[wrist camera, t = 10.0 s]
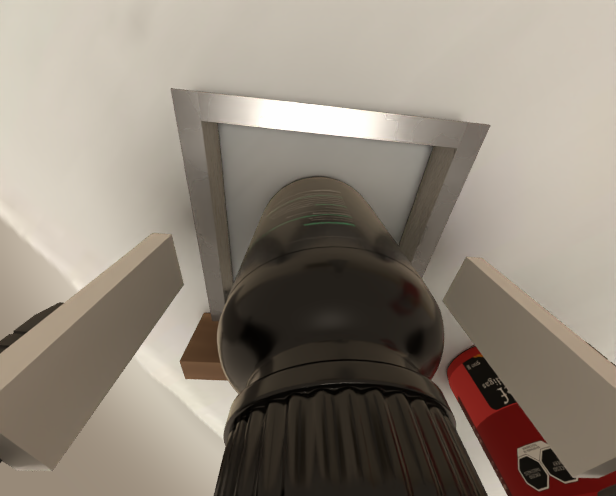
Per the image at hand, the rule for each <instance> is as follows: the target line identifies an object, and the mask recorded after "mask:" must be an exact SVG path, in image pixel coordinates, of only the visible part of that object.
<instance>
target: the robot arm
mask: <svg viewBox="0 0 616 496" xmlns="http://www.w3.org/2000/svg"><path fill="white" fill-rule="evenodd" d="M183 285H184V284H183V280H182V275H181V271H180V267H179V263H178V259H177V255H176V251H175V247H174V242H173V238H172V234H159V233H152V234H151V235H150V236H148V237H147V238H146V239H145V240H143V241H142V242H141V243H140V244H138V245H137V246H136V247H135V248H133V249H132V250H131V251H129V252H128V253H127V254H126V255H124V256H123V257H122V258H121V259H119V260H118V261H117V262H116V263H114V264H113V265H112V266H110V267H109V268H108V269H107V270H105V271H104V272H103V273H102V274H100V275H99V276H98V277H97V278H95V279H94V280H93V281H92V282H90V283H89V284H88V285H86V286H85V287H84V288H83V289H81V290H80V291H79V292H78V293H76V294H75V295H74V296H73V297H71V298H70V299H69V300H67V301H66V302H65V303H57V304H56V305H54V306H52V307H50V308H48V309H46V310H44V311H42V312H40V313H38V314H36V315H34V316H33V317H32V318H30V319H29V320H28V321H26V322H25V323H24V324H22V325H21V326H20V327H18V328H17V329H16V330H14V333H13V334H9V335H8V336H6V337H5V338H4V339H2V340H1V341H0V463H1V461H3V462H5V463H6V464H8V465H9V466H11V467H13V468H14V469H16V470H24V471H27V470H28V471H53V470H54V468H55V467H56V465H57V464H58V462H59V461H60V460H61V458H62V457H63V455H64V454H65V453H66V451H67V450H68V448H69V447H70V445H71V444H72V443H73V441H74V440H75V438H76V437H77V436H78V434H79V433H80V431H81V430H82V428H83V427H84V426H85V424H86V423H87V421H88V420H89V419H90V417H91V415H92V414H93V413H94V411H95V410H96V409H97V407H98V406H99V404H100V403H101V401H102V400H103V399H104V397H105V396H106V394H107V393H108V391H109V390H110V389H111V387H112V386H113V384H114V383H115V382H116V380H117V379H118V377H119V376H120V374H121V373H122V372H123V370H124V369H125V367H126V366H127V364H128V363H129V362H130V360H131V359H132V357H133V356H134V355H135V353H136V352H137V350H138V349H139V347H140V346H141V345H142V343H143V342H144V340H145V339H146V338H147V336H148V335H149V333H150V332H151V330H152V329H153V328H154V326H155V325H156V323H157V322H158V321H159V319H160V318H161V316H162V315H163V313H164V312H165V311H166V309H167V308H168V306H169V305H170V303H171V302H172V301H173V299H174V298H175V296H176V295H177V294H178V292H179V291H180V289H181V288H182V286H183ZM443 302H444V304H445V305H446V307H447V308H448V309H449V311H450V312H451V313H452V315H453V316H454V317H455V319H456V320H457V321H458V323H459V324H460V326H461V327H462V328H463V330H464V331H465V332H466V334H467V335H468V336H469V338H470V339H471V340H472V342H473V343H474V345H475V346H476V347H477V349H478V350H479V351H480V353H481V354H482V355H483V357H484V358H485V359H486V361H487V362H488V364H489V365H490V366H491V368H492V369H493V370H494V372H495V373H496V374H497V376H498V377H499V378H500V380H501V381H502V383H503V384H504V385H505V387H506V388H507V389H508V391H509V392H510V393H511V395H512V396H513V397H514V399H515V400H516V402H517V403H518V404H519V406H520V407H521V408H522V410H523V411H524V412H525V414H526V415H527V416H528V418H529V419H530V421H531V422H532V423H533V425H534V426H535V427H536V429H537V430H538V431H539V433H540V434H541V435H542V437H543V438H544V440H545V441H546V442H547V444H548V445H549V446H550V448H551V449H552V450H553V452H554V453H555V454H556V456H557V457H558V459H559V460H560V461H561V463H562V464H563V465H564V467H565V468H566V469H567V471H568V472H569V473H570V475H571V476H572V478H600V477H602V476H605V475H607V474H609V473H611V472H614V471H616V365H615V364H613V363H612V362H609V361H608V360H607V358H606V357H605V356H603V355H602V354H601V353H600V352H598V351H597V350H596V349H595V348H594V347H592V346H591V345H590V344H589V343H587V342H585V341H584V340H582V339H581V338H580V337H579V336H577V335H576V334H575V333H574V332H573V331H571V330H570V329H569V328H568V327H566V326H565V325H564V324H563V323H561V322H560V321H559V320H558V319H557V318H555V317H554V316H553V315H552V314H550V313H549V312H548V311H547V310H546V309H544V308H543V307H542V306H541V305H539V304H538V303H537V302H536V301H534V300H533V299H532V298H531V297H530V296H528V295H527V294H526V293H525V292H523V291H522V290H521V289H520V288H518V287H517V286H516V285H515V284H514V283H512V282H511V281H510V280H509V279H507V278H506V277H505V276H504V275H502V274H501V273H500V272H499V271H498V270H496V269H495V268H494V267H493V266H491V265H490V264H489V263H488V262H486V261H485V260H484V259H483V258H475V257H466V259H465V260H464V262H463V264H462V266H461V268H460V270H459V271H458V273H457V275H456V277H455V279H454V281H453V282H452V284H451V286H450V288H449V290H448V292H447V293H446V295H445V297H444V299H443ZM597 496H616V484H614V485H612V486H609V487H607V488H604V489H602V490H600V491H599V492H598V493H597Z"/></svg>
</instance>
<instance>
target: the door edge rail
mask: <svg viewBox="0 0 616 496" xmlns="http://www.w3.org/2000/svg"><path fill="white" fill-rule="evenodd" d="M218 324H219V322H218V321H212V318H211V313H204V314H203V316H202V318H201V320H200V322H199V324H198V326H197V328H196V330H195V332H194V334H193V336H192V338H191V340H190V342H189V344H188V346H187V348H186V350H185V352H184V354H183V356H182V358H181V360H180V364H181V367H182V370H183V373H184V376H185V379H203V380H228V379H227V378H226V376H225V374H224V371H223V369H222V366H221V363H220V359H219V355H218V349H217V329H218Z"/></svg>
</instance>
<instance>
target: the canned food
mask: <svg viewBox="0 0 616 496" xmlns="http://www.w3.org/2000/svg"><path fill="white" fill-rule="evenodd" d="M447 376H448V380H449V385H450V387H451V389H452V391H453V393H454V395H455V397H456V399H457V401H458V403H459V404H460V406H461V408H462V410H463V412H464V414H465V416H466V418H467V420H468V421H469V423H470V425H471V427H472V429H473V431H474V433H475V435H476V437H477V438H478V440H479V442H480V444H481V446H482V448H483V450H484V452H485V454H486V455H487V457H488V459H489V461H490V463H491V465H492V467H493V469H494V471H495V473H496V474H497V476H498V478H499V480H500V482H501V484H502V486H503V488H504V490H505V491H506V493H507V495H508V496H597V493H598V492H599V491H600V490H602V489H604V488H607V487H609V486H612V485H614V484H616V471H614V472H611V473H609V474H607V475H605V476H602V477H600V478H572V476H571V475H570V473H569V472H568V471H567V469H566V468H565V467H564V465H563V464H562V463H561V461H560V460H559V459H558V457H557V456H556V454H555V453H554V452H553V450H552V449H551V448H550V446H549V445H548V444H547V442H546V441H545V440H544V438H543V437H542V435H541V434H540V433H539V431H538V430H537V429H536V427H535V426H534V425H533V423H532V422H531V421H530V419H529V418H528V416H527V415H526V414H525V412H524V411H523V410H522V408H521V407H520V406H519V404H518V403H517V402H516V400H515V399H514V397H513V396H512V395H511V393H510V392H509V391H508V389H507V388H506V387H505V385H504V384H503V383H502V381H501V380H500V378H499V377H498V376H497V374H496V373H495V372H494V370H493V369H492V368H491V366H490V365H489V364H488V362H487V361H486V359H485V358H484V357H483V355H482V354H481V353H480V351H479V350H478V349H477V347H476V346H475V347H472V348H470V349H468V350H466V351H465V352H463V353H462V354H460V355H459V356H458V357H456V358H455V359H454V360H453V361H452V363H451V364H450V366H449V368H448V371H447Z"/></svg>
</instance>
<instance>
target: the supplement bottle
mask: <svg viewBox="0 0 616 496" xmlns="http://www.w3.org/2000/svg"><path fill="white" fill-rule="evenodd" d="M443 347H444V326H443V320H442V316H441V312H440V309H439V307H438V305H437V303H436V301H435V299H434V297H433V296H432V294H431V293H430V291H429V289H428V288H427V286H426V284H425V283H424V281H423V280H422V279H421V277H420V276H419V274H418V273H417V272H416V270H415V269H414V267H413V266H412V265H411V263H410V262H409V260H408V259H407V257H406V256H405V255H404V253H403V252H402V250H401V249H400V248H399V246H398V245H397V243H396V242H395V241H394V239H393V238H392V236H391V235H390V234H389V232H388V231H387V229H386V228H385V227H384V225H383V224H382V222H381V221H380V220H379V218H378V217H377V215H376V214H375V213H374V211H373V210H372V208H371V207H370V206H369V204H368V203H367V202H366V200H365V199H364V198H363V197H362V196H361V195H360V194H359V193H358V192H357V191H356V190H355V189H353V188H352V187H351V186H349V185H347V184H345V183H343V182H341V181H338V180H336V179H331V178H325V177H311V178H305V179H301V180H298V181H295V182H293V183H291V184H289V185H287V186H286V187H284V188H283V189H281V190H280V191H279V192H278V193H277V194H276V195H275V196H274V197H273V198H272V199H271V200H270V202H269V203H268V205H267V206H266V208H265V210H264V212H263V214H262V216H261V219H260V221H259V224H258V226H257V228H256V231H255V233H254V236H253V238H252V240H251V243H250V245H249V247H248V250H247V252H246V255H245V257H244V259H243V262H242V264H241V267H240V269H239V271H238V274H237V276H236V279H235V281H234V283H233V286H232V288H231V291H230V293H229V295H228V298H227V300H226V303H225V306H224V308H223V311H222V314H221V317H220V320H219V324H218V329H217V349H218V355H219V359H220V363H221V366H222V369H223V371H224V374H225V376H226V378H227V379H228V381H229V383H230V384H231V386H232V387H233V388H234V389H235V391H236V392H237V393H238V394H239V395H238V396H237V397H236V398H235V400H234V402H233V403H232V406H231V408H230V412H229V415H228V418H227V422H226V425H225V430H224V443H225V446H226V447H225V451H224V455H223V459H222V463H221V467H220V472H219V476H218V480H217V484H216V488H215V493H214V496H488V495H487V493H486V491H485V489H484V487H483V485H482V483H481V481H480V478H479V476H478V474H477V472H476V470H475V468H474V466H473V464H472V462H471V460H470V458H469V456H468V454H467V451H466V449H465V447H464V445H463V443H462V441H461V439H460V437H459V435H458V433H457V431H456V421H455V418H454V416H453V413H452V411H451V409H450V407H449V405H448V403H447V401H446V399H445V397H444V395H443V393H442V392H441V390H440V389H439V387H438V386H437V385H436V384H435V383H434V382H432V381H431V379H432V377H433V376H434V374H435V372H436V371H437V368H438V366H439V364H440V361H441V357H442V353H443Z"/></svg>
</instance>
